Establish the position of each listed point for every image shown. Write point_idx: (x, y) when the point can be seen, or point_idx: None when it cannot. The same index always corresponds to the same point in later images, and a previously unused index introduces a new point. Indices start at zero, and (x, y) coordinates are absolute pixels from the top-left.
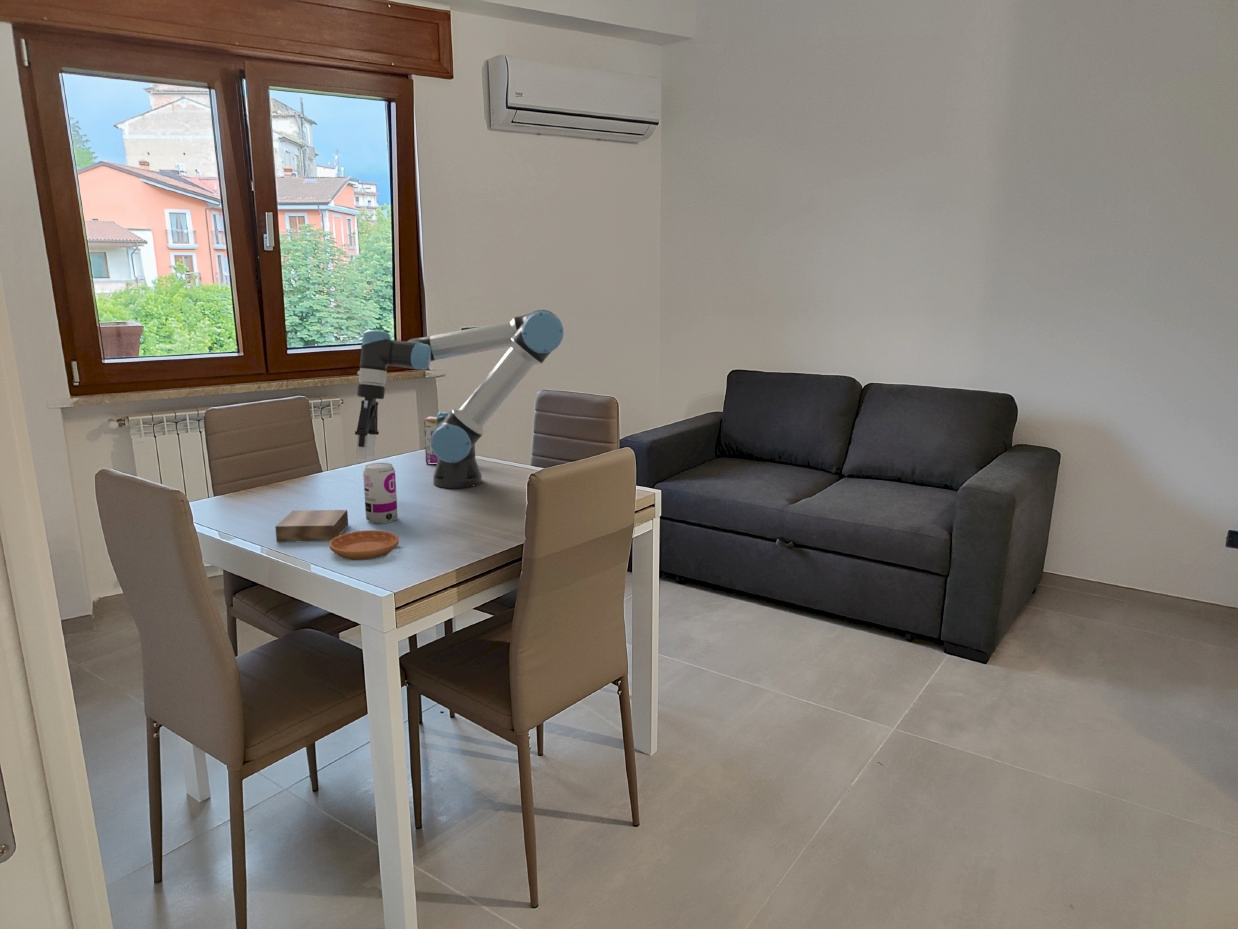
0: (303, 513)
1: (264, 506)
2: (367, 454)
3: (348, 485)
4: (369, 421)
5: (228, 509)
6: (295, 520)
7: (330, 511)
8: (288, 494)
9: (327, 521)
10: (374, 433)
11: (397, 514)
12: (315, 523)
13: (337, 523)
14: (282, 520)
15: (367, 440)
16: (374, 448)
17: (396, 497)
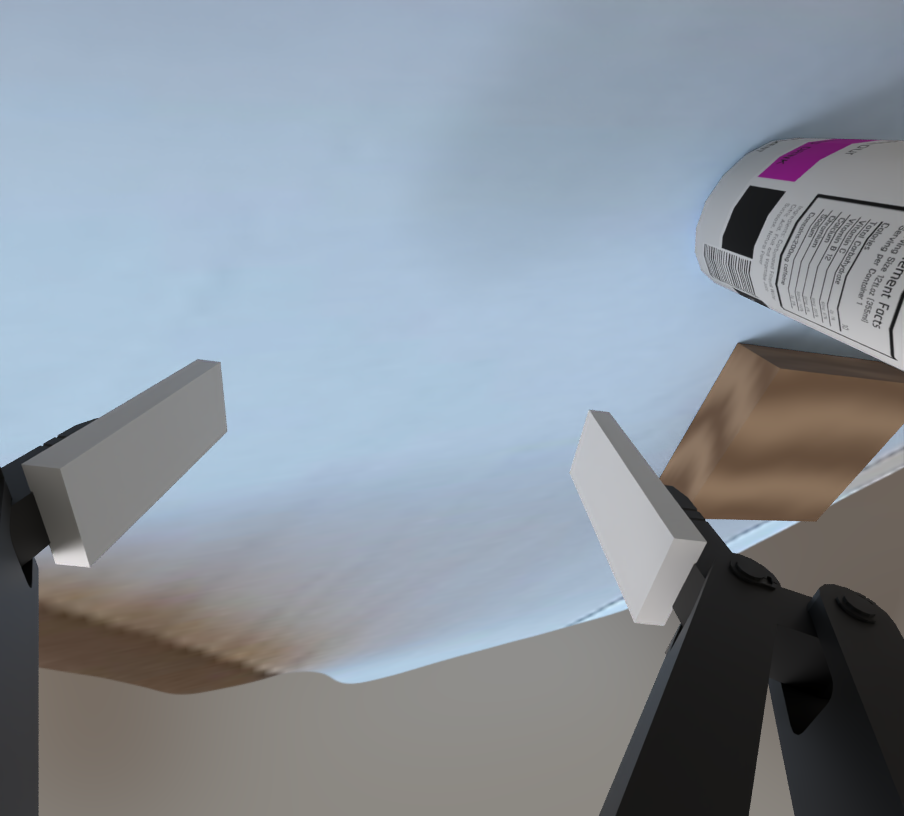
0: (733, 487)
1: (423, 581)
2: (217, 414)
3: (103, 409)
4: (741, 760)
5: (435, 631)
6: (794, 491)
7: (763, 419)
8: (279, 563)
9: (875, 411)
10: (9, 493)
11: (803, 138)
12: (869, 439)
13: (892, 378)
14: (770, 519)
15: (656, 503)
16: (161, 387)
17: (895, 140)
